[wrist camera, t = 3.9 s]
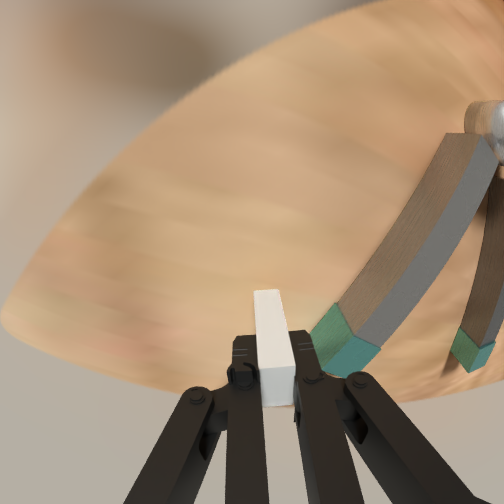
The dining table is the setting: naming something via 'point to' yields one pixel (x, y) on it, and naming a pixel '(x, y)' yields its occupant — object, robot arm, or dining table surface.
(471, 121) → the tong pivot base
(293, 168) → the dining table surface
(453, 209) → the tong swing arm
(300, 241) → the dining table surface
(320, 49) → the dining table surface
